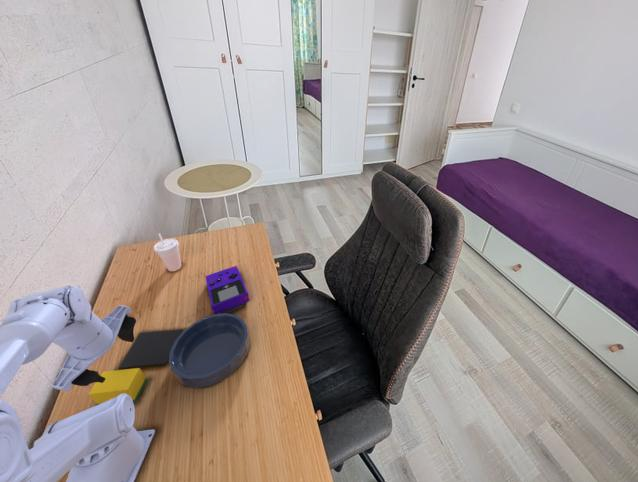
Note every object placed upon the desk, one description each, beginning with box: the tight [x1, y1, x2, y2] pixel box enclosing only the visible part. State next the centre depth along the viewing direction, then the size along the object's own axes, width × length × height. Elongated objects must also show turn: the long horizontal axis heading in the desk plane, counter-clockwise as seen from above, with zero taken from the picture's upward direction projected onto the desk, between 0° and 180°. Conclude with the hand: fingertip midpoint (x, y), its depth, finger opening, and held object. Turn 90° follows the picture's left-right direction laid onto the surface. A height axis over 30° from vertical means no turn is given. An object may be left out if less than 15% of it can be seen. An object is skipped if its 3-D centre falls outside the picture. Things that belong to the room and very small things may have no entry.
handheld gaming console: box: [204, 265, 250, 315], centre depth 84 cm, size 9×5×15 cm
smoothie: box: [153, 232, 182, 272], centre depth 89 cm, size 6×6×14 cm
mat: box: [118, 328, 184, 370], centre depth 69 cm, size 9×10×1 cm
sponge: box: [87, 367, 148, 405], centre depth 60 cm, size 4×7×5 cm, turn 99°
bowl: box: [168, 313, 251, 389], centre depth 68 cm, size 16×16×4 cm
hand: (114, 359), depth 58 cm, fingers open, 7 cm apart
